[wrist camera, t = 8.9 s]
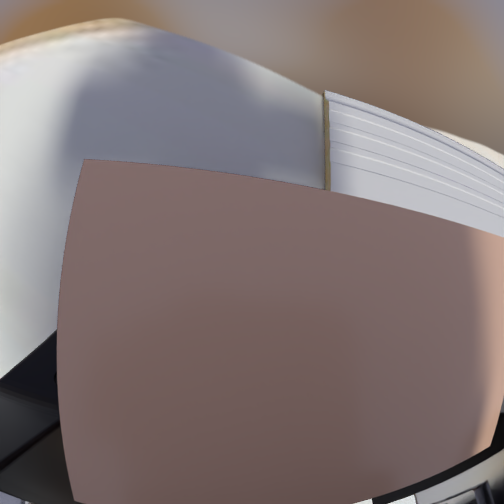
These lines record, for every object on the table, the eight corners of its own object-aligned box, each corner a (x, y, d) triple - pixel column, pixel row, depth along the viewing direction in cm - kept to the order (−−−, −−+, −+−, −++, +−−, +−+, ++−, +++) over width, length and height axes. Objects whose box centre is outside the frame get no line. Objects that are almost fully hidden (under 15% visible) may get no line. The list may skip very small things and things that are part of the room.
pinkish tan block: (277, 347, 16) (489, 446, 3) (162, 338, 14) (75, 500, 2) (283, 281, 16) (514, 241, 4) (168, 269, 15) (85, 158, 2)
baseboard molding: (319, 83, 22) (320, 221, 20) (333, 63, 19) (340, 210, 17) (517, 174, 28) (527, 263, 26) (532, 169, 25) (544, 260, 23)
